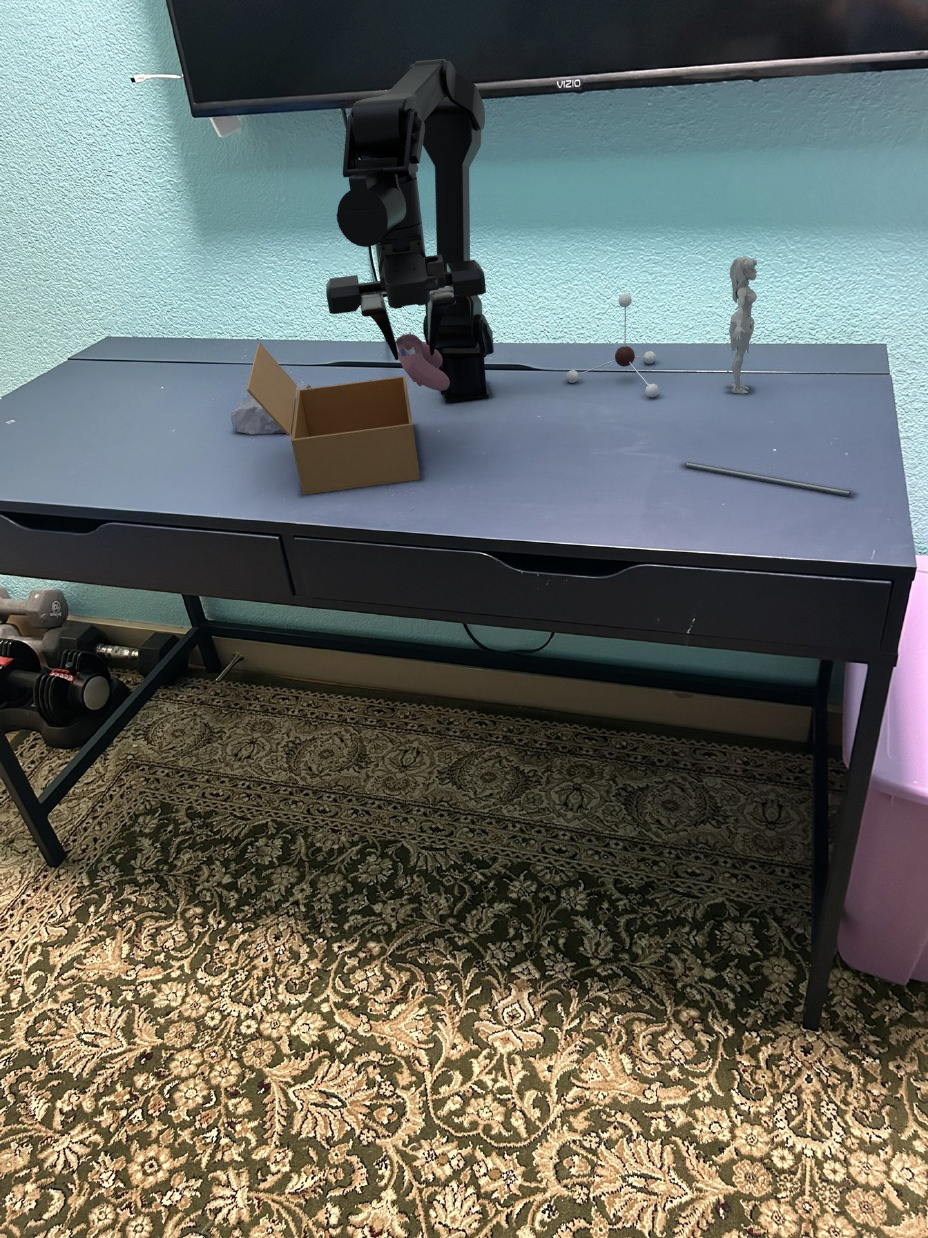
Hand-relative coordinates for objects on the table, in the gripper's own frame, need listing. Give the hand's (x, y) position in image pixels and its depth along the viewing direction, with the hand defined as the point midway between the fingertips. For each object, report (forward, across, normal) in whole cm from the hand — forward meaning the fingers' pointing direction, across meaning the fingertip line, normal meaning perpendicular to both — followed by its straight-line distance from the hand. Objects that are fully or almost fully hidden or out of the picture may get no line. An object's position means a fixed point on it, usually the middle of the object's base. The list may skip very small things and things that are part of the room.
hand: (414, 356), depth 112 cm
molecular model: (+13, +32, +13) cm, 36 cm away
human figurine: (+13, +44, +5) cm, 46 cm away
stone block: (+13, -21, +19) cm, 31 cm away
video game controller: (+3, +1, 0) cm, 3 cm away
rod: (+13, +38, -21) cm, 45 cm away
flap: (+2, -18, 0) cm, 18 cm away
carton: (+13, -9, 0) cm, 16 cm away
